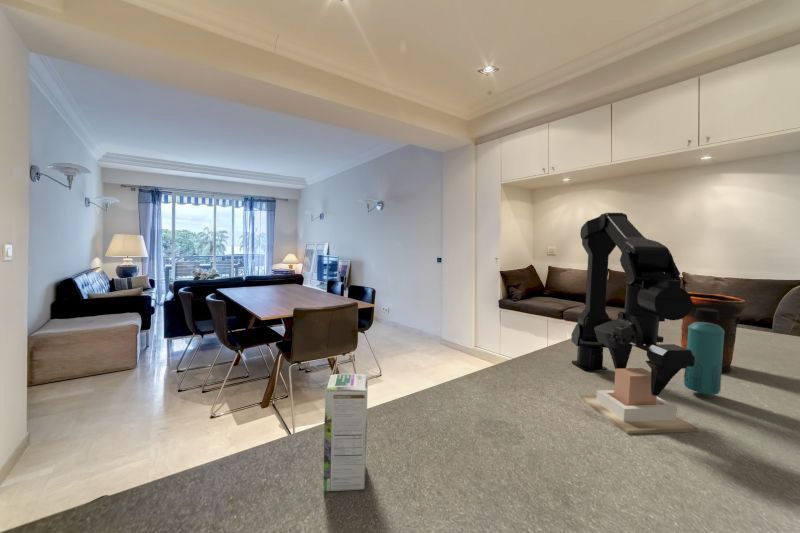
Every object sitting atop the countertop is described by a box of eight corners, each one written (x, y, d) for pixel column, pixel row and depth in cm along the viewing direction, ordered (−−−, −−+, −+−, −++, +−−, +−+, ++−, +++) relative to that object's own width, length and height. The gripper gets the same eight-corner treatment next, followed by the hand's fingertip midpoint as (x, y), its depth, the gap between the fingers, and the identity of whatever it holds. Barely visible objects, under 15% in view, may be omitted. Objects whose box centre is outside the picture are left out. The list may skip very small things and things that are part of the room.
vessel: (674, 352, 110) (682, 289, 108) (737, 365, 100) (747, 297, 98) (666, 363, 100) (674, 294, 98) (735, 379, 90) (746, 303, 87)
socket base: (580, 398, 77) (580, 395, 77) (639, 396, 78) (639, 393, 78) (627, 433, 63) (627, 430, 63) (697, 431, 64) (698, 427, 64)
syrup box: (328, 465, 53) (328, 373, 52) (367, 463, 54) (367, 372, 52) (323, 492, 47) (322, 390, 46) (366, 490, 48) (367, 389, 47)
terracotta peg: (639, 404, 73) (642, 367, 72) (655, 414, 69) (658, 375, 68) (612, 405, 72) (615, 368, 72) (627, 415, 68) (630, 376, 68)
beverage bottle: (727, 403, 76) (736, 312, 74) (692, 399, 77) (700, 311, 75) (707, 390, 82) (715, 306, 80) (675, 387, 83) (682, 305, 82)
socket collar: (596, 401, 74) (597, 390, 74) (643, 400, 75) (644, 389, 75) (623, 421, 66) (624, 408, 66) (675, 419, 67) (677, 407, 67)
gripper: (575, 300, 77) (571, 368, 79) (640, 320, 59) (634, 408, 60) (622, 300, 78) (617, 367, 80) (701, 319, 60) (693, 407, 61)
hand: (636, 384), depth 70 cm, fingers open, 9 cm apart
